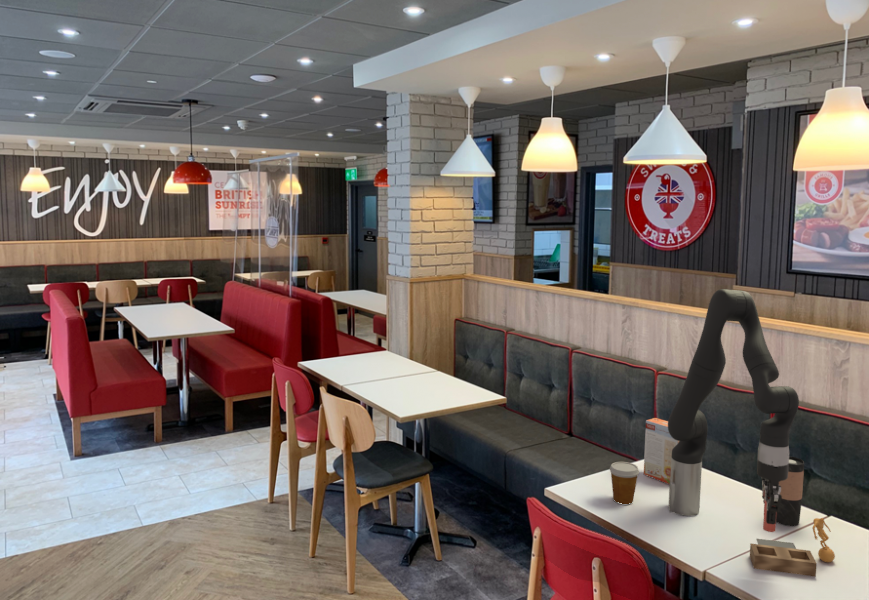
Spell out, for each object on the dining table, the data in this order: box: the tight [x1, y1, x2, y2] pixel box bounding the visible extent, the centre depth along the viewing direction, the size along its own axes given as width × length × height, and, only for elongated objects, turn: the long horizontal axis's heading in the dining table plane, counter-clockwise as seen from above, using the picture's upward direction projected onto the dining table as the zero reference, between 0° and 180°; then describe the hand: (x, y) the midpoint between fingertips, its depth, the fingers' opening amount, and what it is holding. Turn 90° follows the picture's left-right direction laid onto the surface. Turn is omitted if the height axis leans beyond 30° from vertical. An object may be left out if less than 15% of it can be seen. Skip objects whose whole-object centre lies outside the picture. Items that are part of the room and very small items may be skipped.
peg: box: [762, 497, 777, 533], centre depth 186 cm, size 3×3×10 cm
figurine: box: [812, 517, 836, 563], centre depth 189 cm, size 8×6×12 cm
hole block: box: [749, 543, 818, 578], centre depth 186 cm, size 15×7×4 cm, turn 74°
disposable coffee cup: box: [609, 461, 640, 505], centre depth 228 cm, size 10×10×12 cm
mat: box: [756, 538, 797, 549], centre depth 197 cm, size 10×8×1 cm
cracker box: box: [643, 417, 679, 485], centre depth 245 cm, size 14×6×21 cm, turn 34°
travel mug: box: [776, 455, 805, 527], centre depth 212 cm, size 8×8×20 cm
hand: (769, 520), depth 186 cm, fingers closed on peg, 3 cm apart
